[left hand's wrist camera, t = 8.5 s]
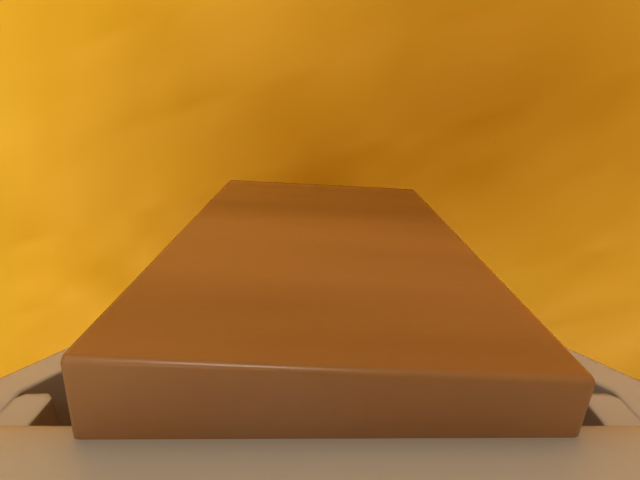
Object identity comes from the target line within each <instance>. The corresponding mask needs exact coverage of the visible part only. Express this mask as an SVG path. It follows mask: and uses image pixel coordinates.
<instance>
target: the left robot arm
mask: <svg viewBox="0 0 640 480" xmlns="http://www.w3.org/2000/svg"><path fill="white" fill-rule="evenodd" d="M565 348H566V347H565ZM68 349H69V348H67V349H65V350H63V351H61V352H58V353H56V354H54V355H52V356H49V357H47V358H45V359H43V360H40V361H38V362H36V363H34V364H31V365H29V366H27V367H25V368H22V369H20V370H18V371H16V372H13V373H11V374H9V375H7V376H4V377H2V378H0V480H640V381H639V380H636V379H634V378H632V377H630V376H628V375H625V374H623V373H621V372H619V371H617V370H614V369H612V368H610V367H608V366H605V365H603V364H601V363H599V362H597V361H594V360H592V359H590V358H588V357H585V356H583V355H581V354H579V353H577V352H574V351H572V350H570V349H568V348H566V349H567V350H568V351H569V352H570V353H571V354H572V355H573V356H574V357H575V358H576V359H577V360H578V361H579V362H580V363H581V365H582V366H583V367H584V368H585V369H586V370H587V371H588V372H589V373H590V374H591V375H592V376H593V377H594V380H595V388H594V391H593V394H592V397H591V400H590V403H589V406H588V409H587V412H586V415H585V418H584V421H583V424H582V427H581V430H580V433H579V436H578V437H575V438H375V439H114V440H78V439H75V438H74V435H73V430H72V424H71V419H70V414H69V408H68V403H67V397H66V392H65V386H64V381H63V376H62V370H61V365H60V362H61V358H62V356H63V354H64V353H65V352H66V351H67V350H68Z"/></svg>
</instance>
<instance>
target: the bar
mask: <svg viewBox="0 0 640 480" xmlns="http://www.w3.org/2000/svg"><path fill="white" fill-rule="evenodd" d="M60 365H61V370H62V376H63V381H64V386H65V392H66V397H67V403H68V408H69V414H70V419H71V424H72V430H73V435H74V438H75V439H78V440H114V439H375V438H575V437H578V436H579V433H580V430H581V427H582V424H583V421H584V418H585V415H586V412H587V409H588V406H589V403H590V400H591V397H592V394H593V391H594V388H595V380H594V377H593V376H592V375H591V374H590V373H589V372H588V371H587V370H586V369H585V368H584V367H583V366H582V365H581V363H580V362H579V361H578V360H577V359H576V358H575V357H574V356H573V355H572V354H571V353H570V352H569V351H568V350H567V349H566V348H565V347H564V346H563V345H562V344H561V343H560V342H559V341H558V340H557V339H556V337H555V336H554V335H553V334H552V333H551V332H550V331H549V330H548V329H547V328H546V327H545V326H544V325H543V324H542V323H541V322H540V321H539V320H538V319H537V318H536V317H535V316H534V315H533V314H532V313H531V311H530V310H529V309H528V308H527V307H526V306H525V305H524V304H523V303H522V302H521V301H520V300H519V299H518V298H517V297H516V296H515V295H514V294H513V293H512V292H511V291H510V290H509V289H508V288H507V287H506V285H505V284H504V283H503V282H502V281H501V280H500V279H499V278H498V277H497V276H496V275H495V274H494V273H493V272H492V271H491V270H490V269H489V268H488V267H487V266H486V265H485V264H484V263H483V262H482V261H481V259H480V258H479V257H478V256H477V255H476V254H475V253H474V252H473V251H472V250H471V249H470V248H469V247H468V246H467V245H466V244H465V243H464V242H463V241H462V240H461V239H460V238H459V237H458V236H457V235H456V233H455V232H454V231H453V230H452V229H451V228H450V227H449V226H448V225H447V224H446V223H445V222H444V221H443V220H442V219H441V218H440V217H439V216H438V215H437V214H436V213H435V212H434V211H433V210H432V209H431V207H430V206H429V205H428V204H427V203H426V202H425V201H424V200H423V199H422V198H421V197H420V196H419V195H418V194H417V193H416V192H415V191H414V190H411V189H392V188H373V187H353V186H334V185H314V184H295V183H276V182H256V181H237V180H231V181H229V182H228V183H227V184H226V185H225V186H224V187H223V188H222V190H221V191H220V192H219V193H218V194H217V195H216V196H215V197H214V198H213V199H212V200H211V201H210V202H209V203H208V204H207V205H206V206H205V207H204V208H203V209H202V210H201V211H200V212H199V213H198V215H197V216H196V217H195V218H194V219H193V220H192V221H191V222H190V223H189V224H188V225H187V226H186V227H185V228H184V229H183V230H182V231H181V232H180V233H179V234H178V235H177V236H176V237H175V238H174V240H173V241H172V242H171V243H170V244H169V245H168V246H167V247H166V248H165V249H164V250H163V251H162V252H161V253H160V254H159V255H158V256H157V257H156V258H155V259H154V260H153V261H152V262H151V263H150V264H149V266H148V267H147V268H146V269H145V270H144V271H143V272H142V273H141V274H140V275H139V276H138V277H137V278H136V279H135V280H134V281H133V282H132V283H131V284H130V285H129V286H128V287H127V288H126V289H125V291H124V292H123V293H122V294H121V295H120V296H119V297H118V298H117V299H116V300H115V301H114V302H113V303H112V304H111V305H110V306H109V307H108V308H107V309H106V310H105V311H104V312H103V313H102V314H101V315H100V317H99V318H98V319H97V320H96V321H95V322H94V323H93V324H92V325H91V326H90V327H89V328H88V329H87V330H86V331H85V332H84V333H83V334H82V335H81V336H80V337H79V338H78V339H77V340H76V342H75V343H74V344H73V345H72V346H71V347H70V348H69V349H68V350H67V351H66V352H65V353H64V354H63V356H62V358H61V362H60Z"/></svg>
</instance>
